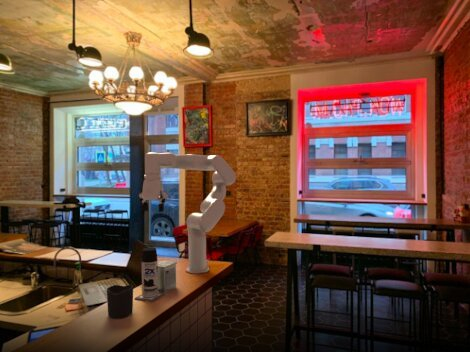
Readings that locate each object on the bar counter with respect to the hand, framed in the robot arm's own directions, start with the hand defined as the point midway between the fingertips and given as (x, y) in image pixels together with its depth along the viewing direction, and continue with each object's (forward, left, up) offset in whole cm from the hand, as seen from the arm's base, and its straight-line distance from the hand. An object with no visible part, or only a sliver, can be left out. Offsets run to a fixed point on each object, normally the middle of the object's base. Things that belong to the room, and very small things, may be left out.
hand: (153, 211), depth 166 cm
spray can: (+20, +14, -34) cm, 42 cm away
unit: (+10, +14, -34) cm, 38 cm away
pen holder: (+39, +15, -35) cm, 54 cm away
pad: (+21, +14, -34) cm, 42 cm away
